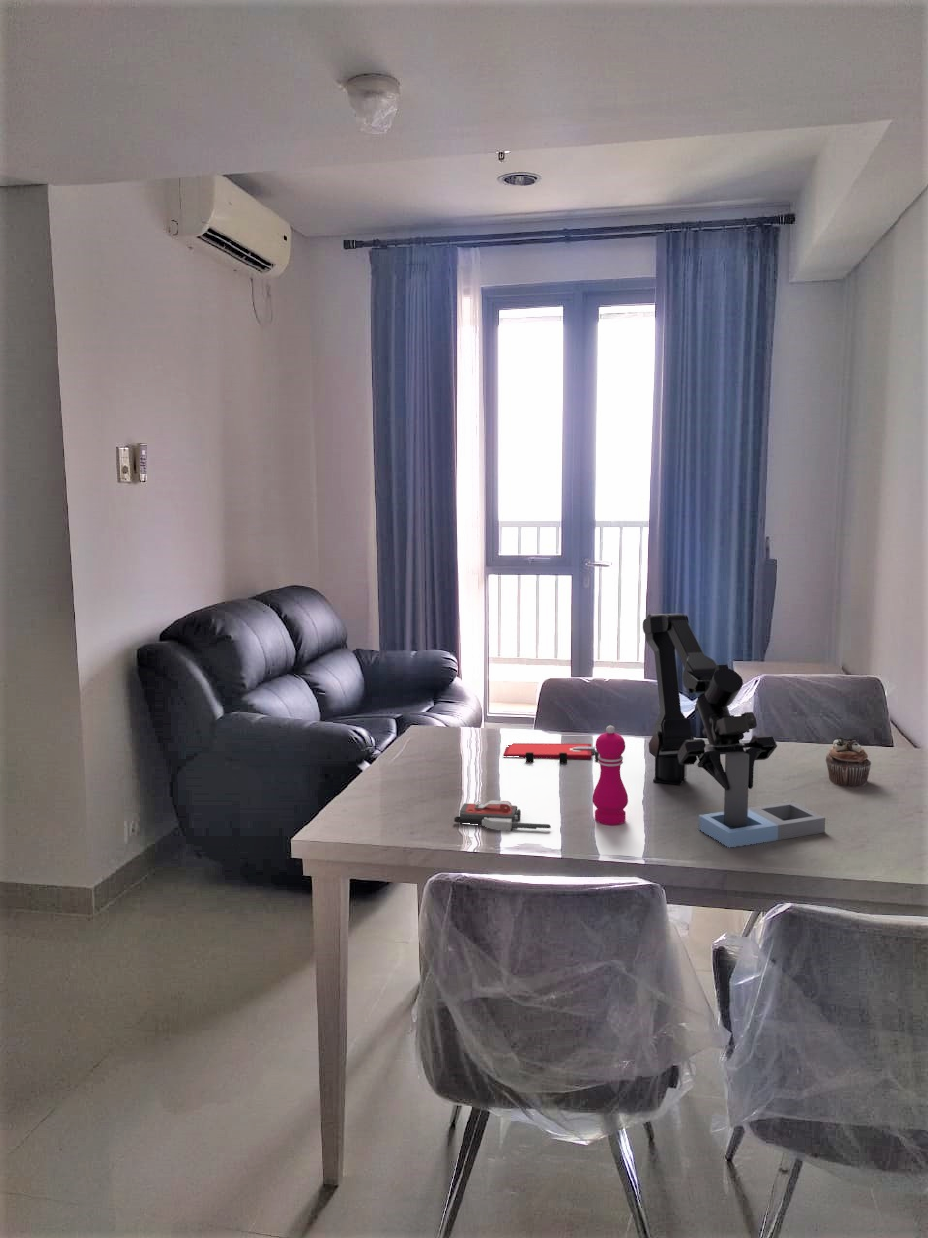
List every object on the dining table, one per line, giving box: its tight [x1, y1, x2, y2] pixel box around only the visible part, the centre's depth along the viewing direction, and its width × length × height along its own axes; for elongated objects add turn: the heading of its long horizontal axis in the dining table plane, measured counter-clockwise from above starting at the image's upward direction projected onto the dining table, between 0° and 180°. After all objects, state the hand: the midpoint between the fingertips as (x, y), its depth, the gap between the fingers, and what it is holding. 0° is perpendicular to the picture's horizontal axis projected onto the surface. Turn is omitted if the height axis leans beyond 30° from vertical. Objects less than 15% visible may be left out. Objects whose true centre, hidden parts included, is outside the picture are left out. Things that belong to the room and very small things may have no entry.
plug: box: [723, 751, 749, 829], centre depth 169 cm, size 4×4×14 cm
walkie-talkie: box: [453, 800, 552, 832], centre depth 179 cm, size 9×4×20 cm
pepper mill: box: [592, 725, 629, 826], centre depth 178 cm, size 7×7×20 cm
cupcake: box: [825, 737, 872, 788], centre depth 200 cm, size 10×10×10 cm
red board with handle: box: [502, 742, 600, 764], centre depth 226 cm, size 30×3×15 cm
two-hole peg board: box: [698, 800, 826, 849], centre depth 172 cm, size 22×10×3 cm, turn 108°
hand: (739, 789), depth 167 cm, fingers closed on plug, 4 cm apart
